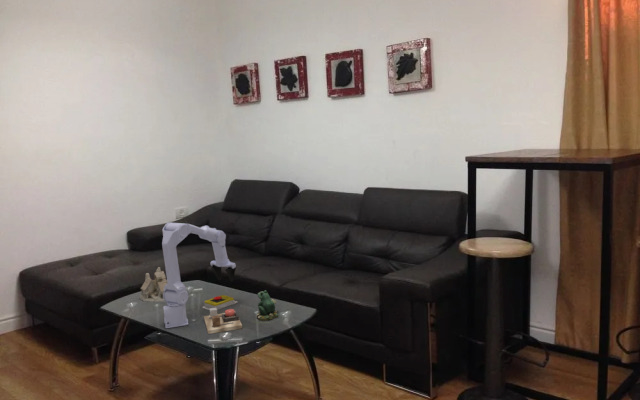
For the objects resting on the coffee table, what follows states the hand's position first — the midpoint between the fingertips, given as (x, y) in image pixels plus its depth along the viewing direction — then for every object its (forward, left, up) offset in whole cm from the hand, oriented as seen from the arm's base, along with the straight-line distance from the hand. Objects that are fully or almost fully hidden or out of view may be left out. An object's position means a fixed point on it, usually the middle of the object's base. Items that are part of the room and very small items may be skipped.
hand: (226, 280), depth 262 cm
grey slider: (-9, -24, -9) cm, 27 cm away
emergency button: (-4, -3, -11) cm, 12 cm away
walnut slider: (-9, -34, -9) cm, 37 cm away
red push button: (-3, -29, -7) cm, 30 cm away
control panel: (-6, -29, -11) cm, 32 cm away
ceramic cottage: (-32, +23, -11) cm, 41 cm away
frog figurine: (+14, -28, -11) cm, 33 cm away
